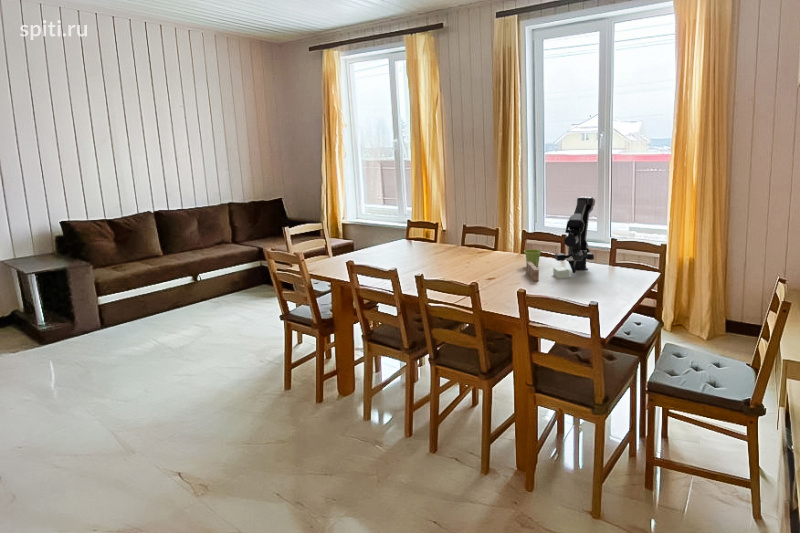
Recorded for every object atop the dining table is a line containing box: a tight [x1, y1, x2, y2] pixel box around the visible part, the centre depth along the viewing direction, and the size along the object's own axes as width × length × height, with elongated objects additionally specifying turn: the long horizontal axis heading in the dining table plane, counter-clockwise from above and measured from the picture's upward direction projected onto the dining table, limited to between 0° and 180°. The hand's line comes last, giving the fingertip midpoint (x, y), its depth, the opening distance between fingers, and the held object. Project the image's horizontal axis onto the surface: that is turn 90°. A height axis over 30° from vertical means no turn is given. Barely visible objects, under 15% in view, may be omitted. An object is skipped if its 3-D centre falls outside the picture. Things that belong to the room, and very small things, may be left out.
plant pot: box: [523, 249, 542, 268], centre depth 317 cm, size 9×9×9 cm
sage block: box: [552, 266, 571, 279], centre depth 295 cm, size 7×6×4 cm
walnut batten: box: [526, 262, 540, 282], centre depth 295 cm, size 18×2×6 cm, turn 179°
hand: (573, 272), depth 295 cm, fingers closed
